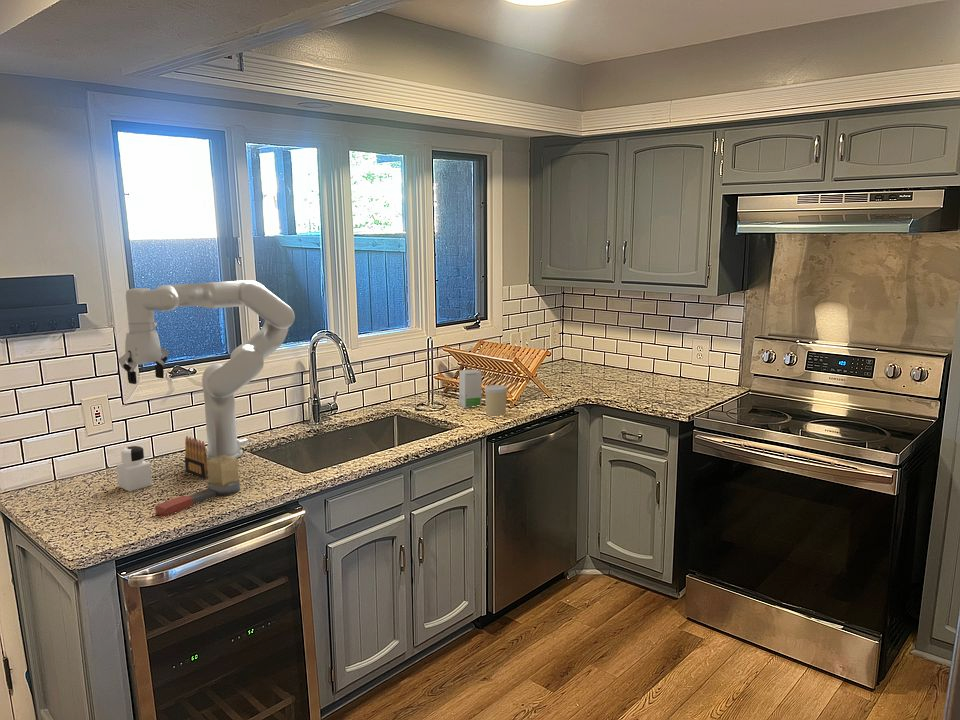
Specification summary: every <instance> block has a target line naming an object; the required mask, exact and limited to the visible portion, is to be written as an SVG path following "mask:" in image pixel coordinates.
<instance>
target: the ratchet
mask: <svg viewBox="0 0 960 720" xmlns="http://www.w3.org/2000/svg"><path fill="white" fill-rule="evenodd" d="M240 490H241V481H240V479H239V481H237V482H234V483H232V484H229V485H227V486H224V487H221V486H217V485H213V484H209V481H208V482H207V488H205V489H203V490H200V491H198V492H195V493H192V494H188V495H184V494H182V495H179V496H176V497H174V498H172V499H168V500H166V501H163V502H161V503H158V504H156V505H154V510H155V514H156V515H158V514H159V515H158V516H161V515H162V516H161V517H164V516H165V517H164V518H167V517H169V516H168V515H170V516H172V515H174V514H173V513H175V512H177V513H179V512H178V511H180V512H182V511H184V510H183V509H185V510H187V509H189V508H188V507H190V506H192V507H194V506H195V505H197V504H196V503H198V502H200V503H202V502H201V501H203V502H205V501H207V500H206V499H208V500H210V499H212V497H213V498H215V497H225V496H224V495H226V496H231V495H233V493H234V494H236V493H238V492H240ZM230 494H231V495H230ZM214 496H215V497H214ZM209 498H210V499H209ZM204 500H205V501H204ZM194 504H195V505H194ZM198 504H199V503H198ZM193 505H194V506H193ZM186 508H187V509H186ZM190 508H191V507H190ZM181 510H182V511H181ZM171 514H172V515H171ZM175 514H176V513H175ZM166 516H167V517H166Z"/></svg>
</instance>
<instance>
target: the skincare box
mask: <svg viewBox="0 0 960 720" xmlns="http://www.w3.org/2000/svg"><path fill="white" fill-rule="evenodd" d="M458 374H459V375H458V376H459V378H458V379H459V380H458V381H459V382H458V383H459V388H458V393H459V395H458V398H459V399H458V405H459V407H461V406H462V408H463V407H464V408H463V409H468V408H467V407H472V406H477V405H481V406H482V393H483V391H482V388H483V387H482V381H483V380H482V377H483V373H482V371H481V370H478V369H461V370H459V373H458Z"/></svg>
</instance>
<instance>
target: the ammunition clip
mask: <svg viewBox="0 0 960 720" xmlns="http://www.w3.org/2000/svg"><path fill="white" fill-rule="evenodd" d="M184 447H185V449H184V451H185V452H184V453H185V456H184V466H185V467H184V469H185V473H186V472H187V474H189V473H190V474H189V475H192V474H193V475H192V476H194V475H195V477H197V476H198V477H197V478H200V479H202V478H203V479H202V480H208V468H207V454H206V451H207V450H206V444H205V441H203V440H202V441H201V440H200V439H199V440H198V439H197V438H194V437H191V436H188V435H186V437H185V445H184Z"/></svg>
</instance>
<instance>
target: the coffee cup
mask: <svg viewBox="0 0 960 720" xmlns="http://www.w3.org/2000/svg"><path fill="white" fill-rule="evenodd" d="M507 394H508V387H507V386H505V385H501V384H491V385H490V384H489V385H485V387H484V398H485V413H486V414H487V415H490V416H500V415H504V414H505V415H506V412H507V410H506V409H507V398H508V397H507V396H508V395H507ZM487 415H486V416H487Z"/></svg>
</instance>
